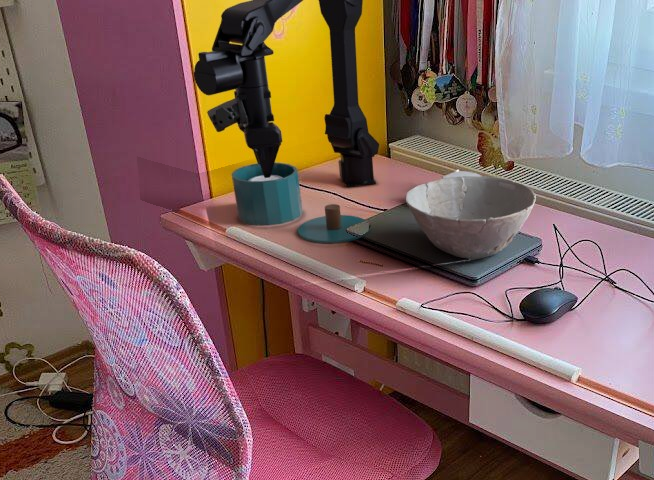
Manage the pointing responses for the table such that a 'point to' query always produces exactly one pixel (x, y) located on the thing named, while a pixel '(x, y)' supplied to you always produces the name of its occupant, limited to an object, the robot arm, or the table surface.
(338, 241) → the lid
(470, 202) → the ceramic bowl
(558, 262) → the table surface
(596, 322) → the table surface
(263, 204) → the canister
